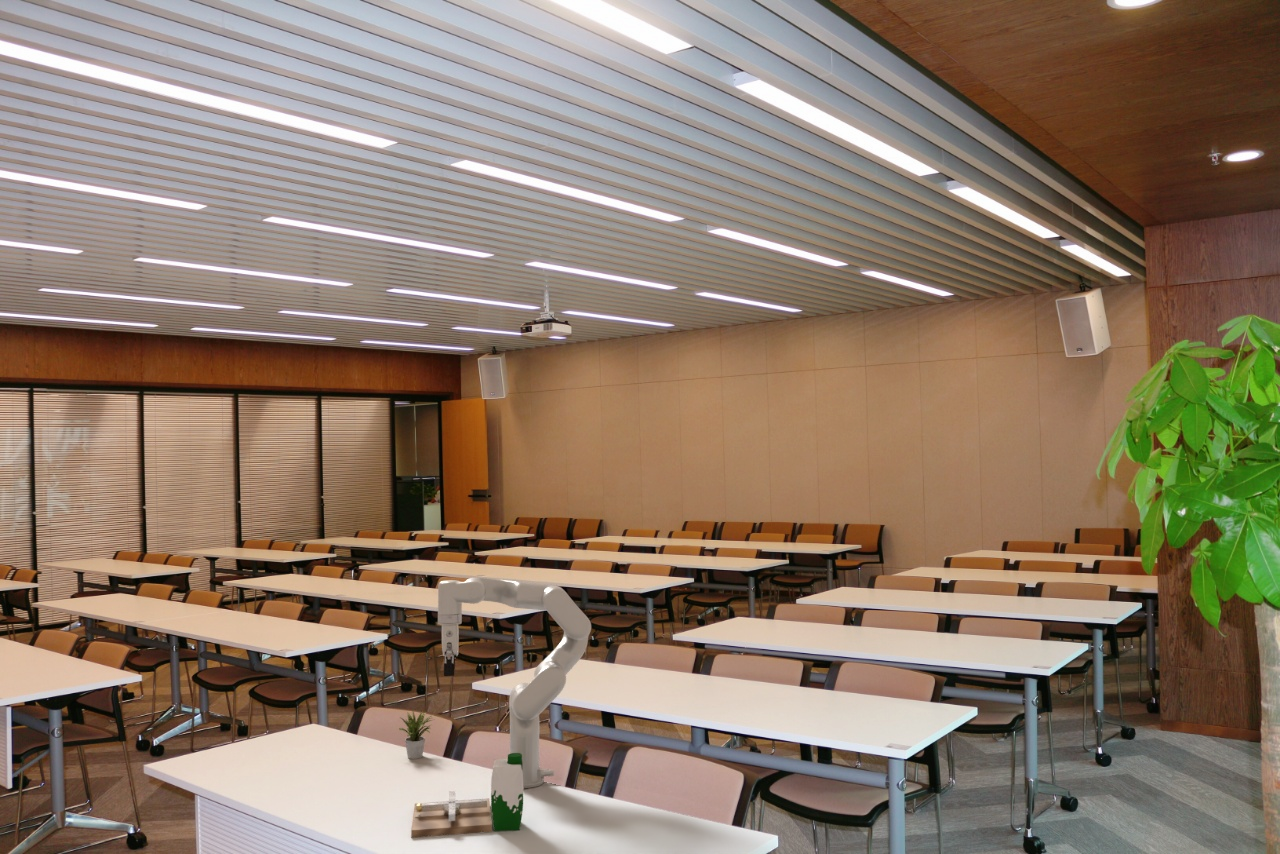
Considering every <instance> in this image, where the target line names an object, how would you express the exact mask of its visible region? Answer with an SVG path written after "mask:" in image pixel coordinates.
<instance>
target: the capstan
mask: <svg viewBox="0 0 1280 854" xmlns="http://www.w3.org/2000/svg"><path fill="white" fill-rule="evenodd" d="M478 799H479V800H473V799H463V800H464V801H459V800H457V799H456V790H452V791H450V790H449V791H448V800H446V802H445V801H434V802H435V803H430V802H421V803H420V802H418V803H419V804H417V805H416V807H415V809H416V811H417V812H428V811H442V810H443V814H444V815H446V816H449V821H455V815H459V814H460V813H461V809H470V808H484V807H487V799H488V798H478Z"/></svg>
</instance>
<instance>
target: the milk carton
mask: <svg viewBox="0 0 1280 854" xmlns="http://www.w3.org/2000/svg"><path fill="white" fill-rule="evenodd" d="M522 765H523V762H522V754H520V753H511V754H510V753H508V754H507V757H506V758H500V759H497V758H496V759H494V762H493V766H492V772H491V781H490V790H491V791H490V811H491V820H492V827H493V831H494V832H511V831H512V832H513V831H520V830H521V826H522V824H521V823H522V816H523V810H524V788H523V770H522Z"/></svg>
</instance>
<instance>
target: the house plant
mask: <svg viewBox="0 0 1280 854" xmlns="http://www.w3.org/2000/svg"><path fill="white" fill-rule="evenodd" d="M426 713H427V712H426V711H425V712H424V713H423V709H422V710H421V712H420V713H419V715H418V717H417V719H416V715H415V711H414V710H412V716H411V714H410V713H409V712H408V711H407V719H406V718H405V719H404V718H402V717H399V719H401V720H402V721H403V723H404V724H405V725H406V727H407V728H406V729H405V728H403V727H399V728H397V731H403V732H405V733H407V737H406V738H405V739H404V743H405V747H406V748H405V750H406V755H407V758H408V759H409V760H410V759H411V760H412V759H413V760H415V759H416V760H417V759H420V758H423V756H424V755H423V754H424V749H425V741H426V737H424V736H422V735H423V734H424V733H425V732H427V733H429V734H431V732H430V730H432V729H431V727H430V726H432V724H430V725H428V726H427V725H425V724H426V723H428V722H431V721H435V720H436V719H431V718H432V717H433V716H435V714H432V715H430V716H428V717H426V718H425V715H427V714H426Z"/></svg>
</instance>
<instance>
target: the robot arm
mask: <svg viewBox="0 0 1280 854" xmlns="http://www.w3.org/2000/svg"><path fill="white" fill-rule="evenodd" d="M437 587H438V588H437V590H438V591H437V625H439V626H441V648H442V649H441V651H442V656H443V657H444V663H443V676H444V677H453V676H455V669H456V668H455V667H456V663H455V661H456V660H455V659H456V657H458V655H459V650H460V649H459V645H460V644H459V642H460V641H459V640H460V639H459V635H460V632H459V628H460V627H459V625H461V624H462V619H463V617H462V616H463V615H462V611H463V610H462V609H463V608H462V607H463V604H473V605H475V604H479V603H481V602H483V601H484V602H492V603H499V604H503V605H505V606H508V607H511V608H513V609H514V608H515V609H525V610H526V609H527V610H535V611H537V610H538V611H547V613H548V614H549V615H550V616H551V618H552V619H553V621H555V622H556V624H557V625H558V626H559V627H560V628H561V629H562V631H563V636H562V638H561V641H560V642H559V644H557V646H556V647H555V648H554V649H553V650H552V651H551V652H550V653H549V654H548V655H547V656H546V657H545V658H544V659H543V660H542V661H541V662H540V663H539V664H538V665H537V666H536V667H535V670H534V674H533V675H534V676H533V678H532V680H530V682H527V683H526V682H521V683H519V684H517V685H516V686H514V687H513V688H512V690H511V691H510V694H509V699H508V700H509V701H508V702H509V704H508V706H509V754H511V753H520V754H522V762H523V765H522V770H523V789H532V788H537V787H539V786H541V785H543V784H544V783H545V777H554V774H555V773H554V772H555V771H554V769H550V768H541V765H540V714H542V713H543V711H544V710H546V708H548V707H549V706H550V704H552V702H553V701H554V700H556V698H557V697H558V696H559V695H560V694H561V693H562V691H563V690H564V688H565V686H566V683H567V675H568V673H569V672H570V671H571V670H572V669H573V667H575V665H577V663H578V662H580V660H581V658H582V657H583V655H584V653H585V652H586V648H587V646H588V641H589V635H590V633H591V631H592V623H591V621H590V619H589V618H588V616H587V615H586V614H585V613H584V612H583V611H582V609H580V608H579V606H578V605H577V603H575V602H574V601H573V599H572V598H571V597H570V596H569V594H568V593H567V592H566V591H565V589H563V588H562V587H561V586H558V585H555V584H547V583H538V582H537V583H534V582H526V581H525V582H523V581H517V580H516V581H515V580H505V579H504V580H503V579H493V578H486V577H485V578H484V577H469V578H468V579H466V580H465V581H460V580H458V579H457V580H454V579H451V580H450V579H448V580H447V579H446V580H441V581H440V582H439V583H438V585H437ZM455 656H456V657H455Z"/></svg>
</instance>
